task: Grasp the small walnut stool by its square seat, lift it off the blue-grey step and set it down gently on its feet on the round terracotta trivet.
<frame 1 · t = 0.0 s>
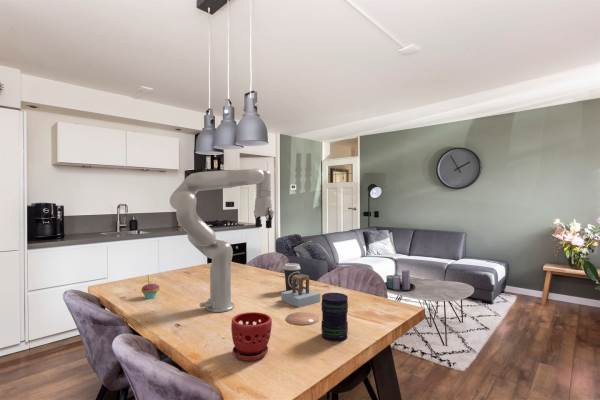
hand: (263, 227, 164), 37 cm above the table, tool pointing down, fingers open, 9 cm apart
cupcake: (150, 297, 165), on the table
stool: (300, 293, 160), point 4 cm above the table, touching step
step: (300, 300, 160), on the table
plant pot: (251, 354, 104), on the table
storage jar: (334, 336, 118), on the table
coffee cup: (291, 291, 176), on the table
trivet: (302, 318, 136), on the table
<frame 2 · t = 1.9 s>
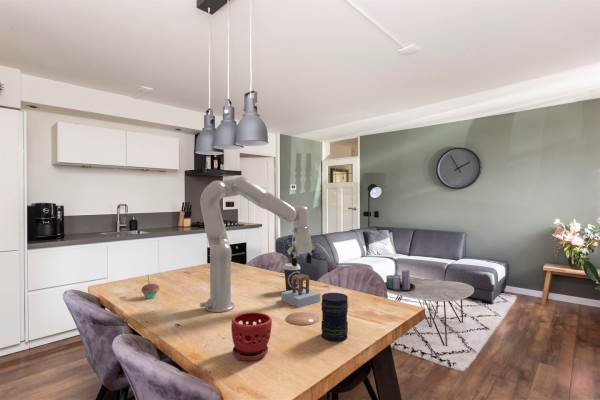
hand: (301, 264, 160), 18 cm above the table, tool pointing down, fingers open, 9 cm apart
nothing on the table moved.
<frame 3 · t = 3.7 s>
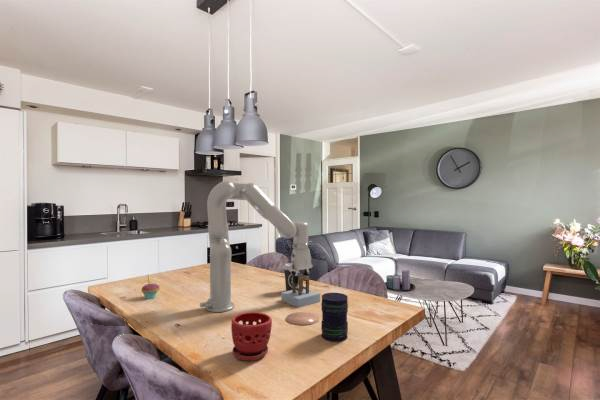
hand: (300, 281, 160), 10 cm above the table, tool pointing down, fingers closed on stool, 6 cm apart
stool: (300, 293, 160), point 4 cm above the table, touching gripper, step
everything else where it was.
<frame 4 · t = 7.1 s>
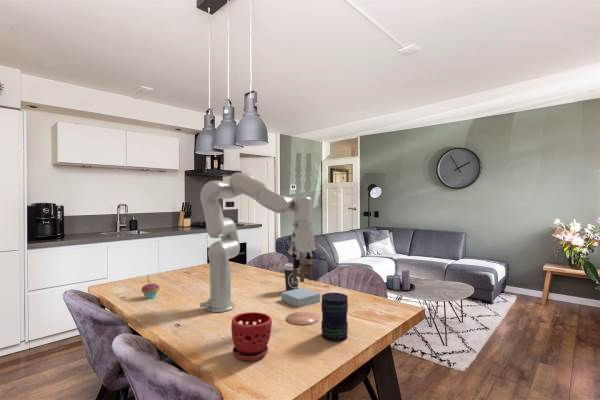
hand: (302, 266, 136), 22 cm above the table, tool pointing down, fingers closed on stool, 6 cm apart
stool: (302, 279, 135), point 17 cm above the table, touching gripper
everything else where it was.
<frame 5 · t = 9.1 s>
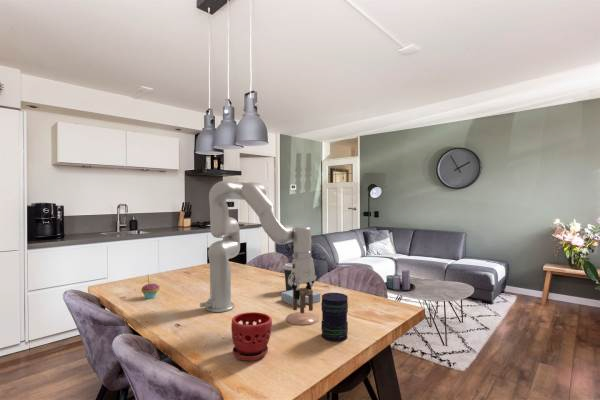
hand: (302, 297, 135), 9 cm above the table, tool pointing down, fingers closed on stool, 6 cm apart
stool: (302, 310, 135), point 4 cm above the table, touching gripper
everything else where it was.
when the fingers open (7 cm above the table, at t = 10.6 s): stool stays where it is, resting on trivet.
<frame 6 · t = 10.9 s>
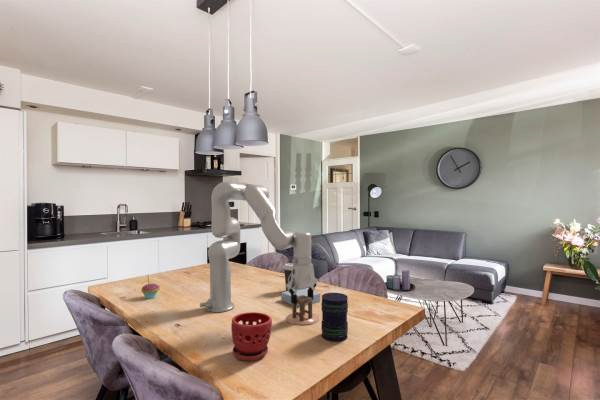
hand: (302, 301, 136), 8 cm above the table, tool pointing down, fingers open, 8 cm apart
stool: (302, 317, 136), resting on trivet
everything else where it was.
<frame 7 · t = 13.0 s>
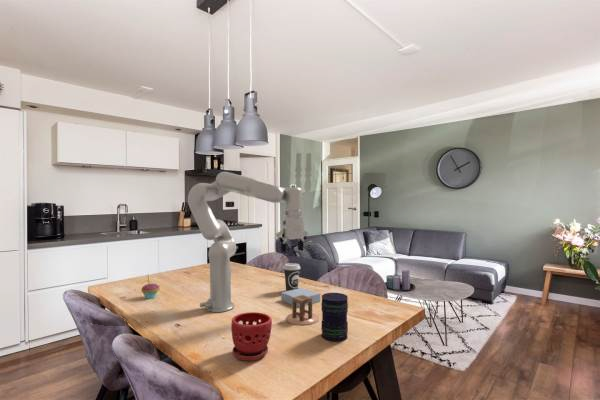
hand: (292, 251, 145), 27 cm above the table, tool pointing down, fingers open, 9 cm apart
nothing on the table moved.
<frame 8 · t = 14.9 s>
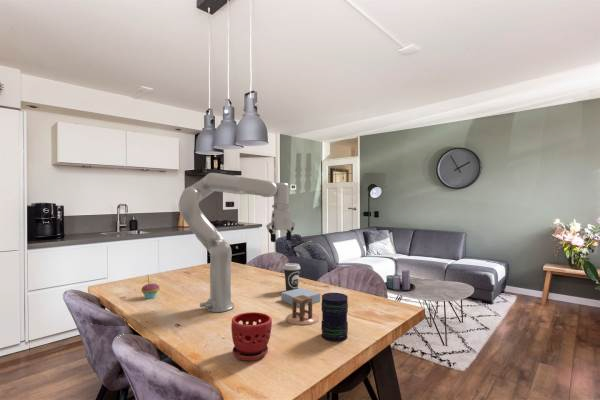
hand: (281, 241, 159), 30 cm above the table, tool pointing down, fingers open, 9 cm apart
nothing on the table moved.
at the end: stool 0.0 cm from the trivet (horizontally); stool resting on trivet; stool tilted 0° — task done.
